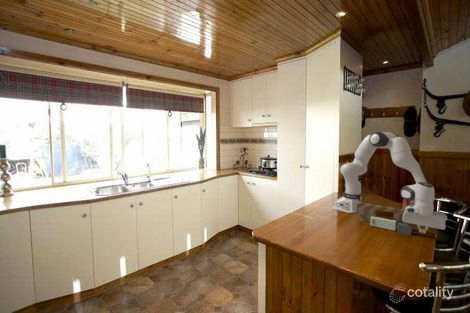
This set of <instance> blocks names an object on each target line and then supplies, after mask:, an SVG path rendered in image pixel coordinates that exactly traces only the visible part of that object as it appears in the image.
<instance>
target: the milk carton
mask: <svg viewBox="0 0 470 313" xmlns="http://www.w3.org/2000/svg"><path fill="white" fill-rule="evenodd" d="M402 199H403V198H402ZM411 205H415V202H414V201H407V200H404V199H403V200H402V208H401V209H404V210H405V208H406V206H411Z"/></svg>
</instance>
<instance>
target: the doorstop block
mask: <svg viewBox="0 0 470 313" xmlns="http://www.w3.org/2000/svg"><path fill="white" fill-rule="evenodd" d="M412 231H413V224H412V225H410V224H405V223H399V222H398V224H397V228H396V233H398V234H403V235H408V236H411V235H412Z"/></svg>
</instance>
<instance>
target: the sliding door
mask: <svg viewBox="0 0 470 313" xmlns="http://www.w3.org/2000/svg"><path fill="white" fill-rule="evenodd" d="M369 226H370V227H371V226H372V227H375V228H376V227H377V228H381V229H386V230H389V231H397V228H396V221H394V220H393V219H389V218H383V217H377V216H376V217H373V216H371V217H370V223H369Z"/></svg>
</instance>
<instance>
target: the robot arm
mask: <svg viewBox="0 0 470 313" xmlns="http://www.w3.org/2000/svg"><path fill="white" fill-rule="evenodd" d="M377 148H382V149H388V150H389V152H390V156H391V160H392V162H393V164H394V165H395V166H397V167H399V168H402V169H405V170H407V171H408V172H409V173H411V175H412V176H413V178H414V181H415V183H414V184H411V185H410V184H409V185H405V186H404V185H403V187H401V189H400V196H401V198H402V199H404V200H407V201H414V202H415V205H411V206H406V208H405V211H404V214H403V218H402V221H403V222H405V223H411V224H412V225H416V226H417V228H418V230H419V231H418V232H419V233H421V234H426V231H428V229H429V228H431V229H432V228H433V229H438V230H445V229H446V221H447V220H448V216H447V215H446V214H445V213H443V212H438V211H434V210H435V209H434V208H435V206H434V201H435V188H434V187H435V186H433V185H432V184H431V183H429V182H428V179H427V177H426V175H425V173H424V171H423V167H422V166H421V164H420V163H419V161H417V160H416V159H415V157H414V156H413V154H412V150H411V147H410V145H409V143H408V141H407V139H406V138H404V137H402V136H399V135H398V134H396V133H395V132H389V131H375V132H372V133H371V134H367V135H366V136H365V137H364V138H363V140H362V141H361V142H360V143H359V145H358V147H357V149H356V151H355V152H354V158H353V161H352V162H346V163H344V164H342V165H341V166H340V174H341V175H342V176H343V178H344V182H345V191H344V192H342V196H340V197H339V198H338V199H337V200H336V201H335V203H334V205H332V206H331V208H332V210H336V211H339V212H345V213H348V214H354V213H355V214H357V202H360V203H362V183H361V182H360V180H359V176H362V175H364V174H366V172H367V171H368V165H369V161H370V159H371V158H372V156H373V155H374V153H375V151H376V150H377ZM421 226H423V227H424V229H422V228H421Z"/></svg>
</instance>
